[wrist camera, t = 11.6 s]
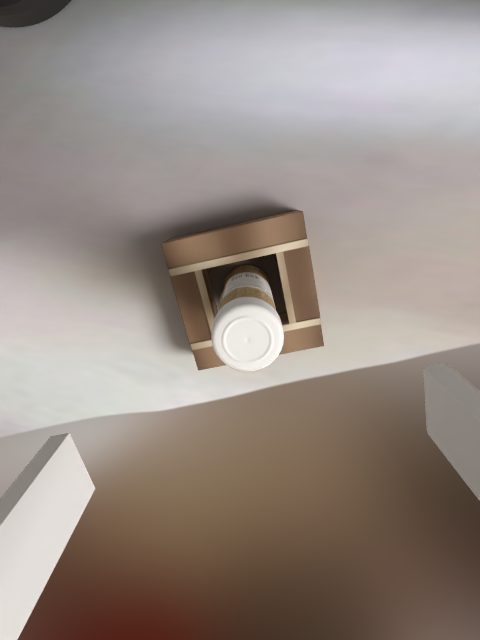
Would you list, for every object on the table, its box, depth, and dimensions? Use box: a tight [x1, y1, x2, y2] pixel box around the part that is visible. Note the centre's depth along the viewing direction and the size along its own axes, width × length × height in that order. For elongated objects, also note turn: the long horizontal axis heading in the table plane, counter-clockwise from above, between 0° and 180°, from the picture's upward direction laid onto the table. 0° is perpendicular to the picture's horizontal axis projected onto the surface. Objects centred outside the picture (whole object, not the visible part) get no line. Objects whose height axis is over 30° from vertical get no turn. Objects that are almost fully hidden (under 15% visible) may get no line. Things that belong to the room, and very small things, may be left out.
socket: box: [161, 210, 324, 370], centre depth 32 cm, size 12×12×4 cm
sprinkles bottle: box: [211, 265, 284, 371], centre depth 28 cm, size 5×5×13 cm
